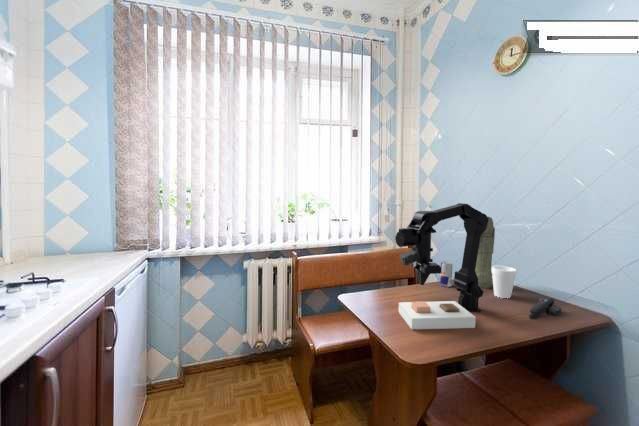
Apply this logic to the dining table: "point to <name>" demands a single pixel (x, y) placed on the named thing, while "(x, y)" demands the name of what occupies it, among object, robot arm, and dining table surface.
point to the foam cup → (503, 280)
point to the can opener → (544, 308)
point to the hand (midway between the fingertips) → (421, 284)
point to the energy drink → (446, 274)
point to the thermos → (485, 256)
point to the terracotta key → (421, 307)
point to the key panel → (436, 316)
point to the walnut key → (449, 308)
